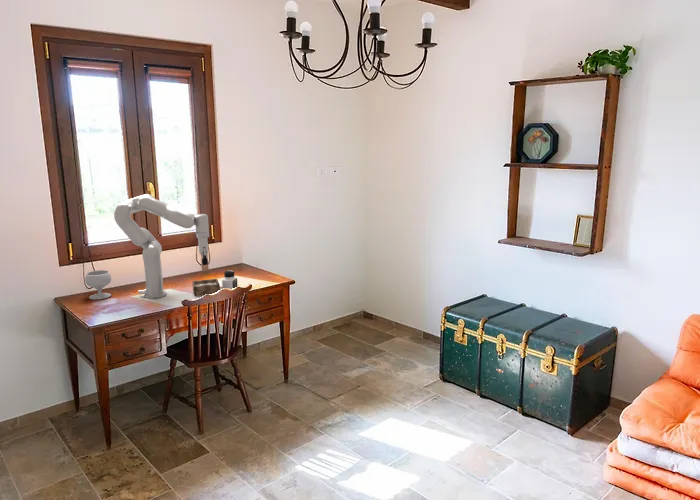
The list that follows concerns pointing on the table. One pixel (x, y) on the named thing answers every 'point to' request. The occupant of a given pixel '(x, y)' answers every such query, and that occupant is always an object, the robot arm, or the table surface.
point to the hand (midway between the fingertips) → (204, 263)
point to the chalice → (98, 282)
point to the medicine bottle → (229, 280)
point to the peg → (204, 267)
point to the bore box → (205, 287)
